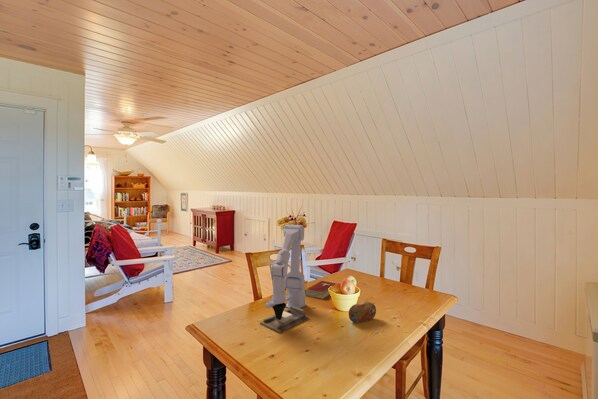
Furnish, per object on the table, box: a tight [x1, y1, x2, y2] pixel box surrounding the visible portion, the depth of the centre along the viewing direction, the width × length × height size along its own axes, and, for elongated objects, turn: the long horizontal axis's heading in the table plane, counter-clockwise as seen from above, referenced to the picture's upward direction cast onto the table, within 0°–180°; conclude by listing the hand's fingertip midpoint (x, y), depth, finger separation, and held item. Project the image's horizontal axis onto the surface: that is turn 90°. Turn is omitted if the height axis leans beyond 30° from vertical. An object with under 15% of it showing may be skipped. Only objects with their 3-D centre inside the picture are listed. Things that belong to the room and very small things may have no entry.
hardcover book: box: [304, 280, 338, 300], centre depth 178 cm, size 12×21×4 cm, turn 148°
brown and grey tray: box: [259, 306, 310, 334], centre depth 138 cm, size 20×13×4 cm, turn 138°
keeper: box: [276, 310, 292, 323], centre depth 138 cm, size 5×6×3 cm
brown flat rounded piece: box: [348, 301, 377, 325], centre depth 140 cm, size 15×3×8 cm, turn 117°
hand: (278, 319), depth 135 cm, fingers closed
